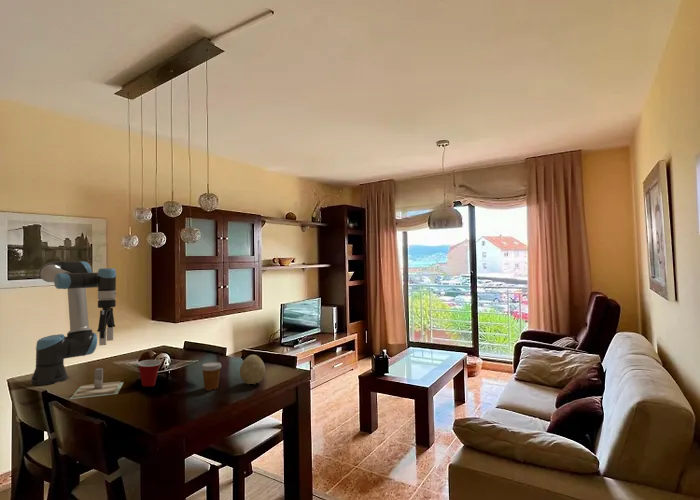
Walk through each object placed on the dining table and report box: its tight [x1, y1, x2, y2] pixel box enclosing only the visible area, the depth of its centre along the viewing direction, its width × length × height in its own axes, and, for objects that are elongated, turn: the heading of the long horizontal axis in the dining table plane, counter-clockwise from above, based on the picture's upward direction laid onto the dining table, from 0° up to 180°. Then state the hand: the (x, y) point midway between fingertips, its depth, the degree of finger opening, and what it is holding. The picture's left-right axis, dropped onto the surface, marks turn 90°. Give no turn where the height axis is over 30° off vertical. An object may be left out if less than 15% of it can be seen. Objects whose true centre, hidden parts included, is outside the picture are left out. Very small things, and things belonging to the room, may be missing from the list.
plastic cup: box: [137, 359, 162, 388], centre depth 198 cm, size 11×11×12 cm
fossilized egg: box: [239, 354, 266, 385], centre depth 201 cm, size 13×13×15 cm
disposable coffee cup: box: [201, 361, 223, 391], centre depth 194 cm, size 10×10×12 cm
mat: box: [69, 381, 124, 400], centre depth 189 cm, size 19×19×1 cm
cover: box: [74, 367, 121, 399], centre depth 189 cm, size 16×16×10 cm
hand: (106, 342), depth 191 cm, fingers open, 13 cm apart
